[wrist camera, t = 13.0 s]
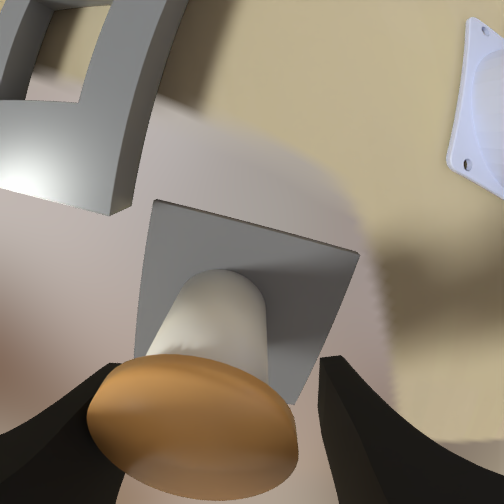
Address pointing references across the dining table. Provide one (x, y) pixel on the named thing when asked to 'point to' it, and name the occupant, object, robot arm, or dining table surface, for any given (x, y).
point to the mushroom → (200, 399)
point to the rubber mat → (258, 272)
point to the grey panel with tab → (83, 103)
